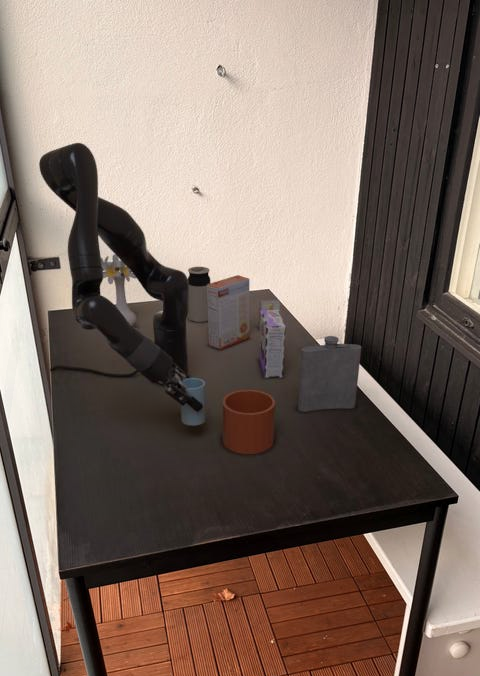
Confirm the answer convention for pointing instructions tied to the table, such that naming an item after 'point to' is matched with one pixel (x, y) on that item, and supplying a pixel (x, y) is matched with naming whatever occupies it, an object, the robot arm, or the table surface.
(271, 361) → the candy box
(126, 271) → the flower vase
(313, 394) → the hip flask
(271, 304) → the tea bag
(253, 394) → the flower pot
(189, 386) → the enamel cup
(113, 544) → the table surface
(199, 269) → the travel mug
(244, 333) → the cracker box
